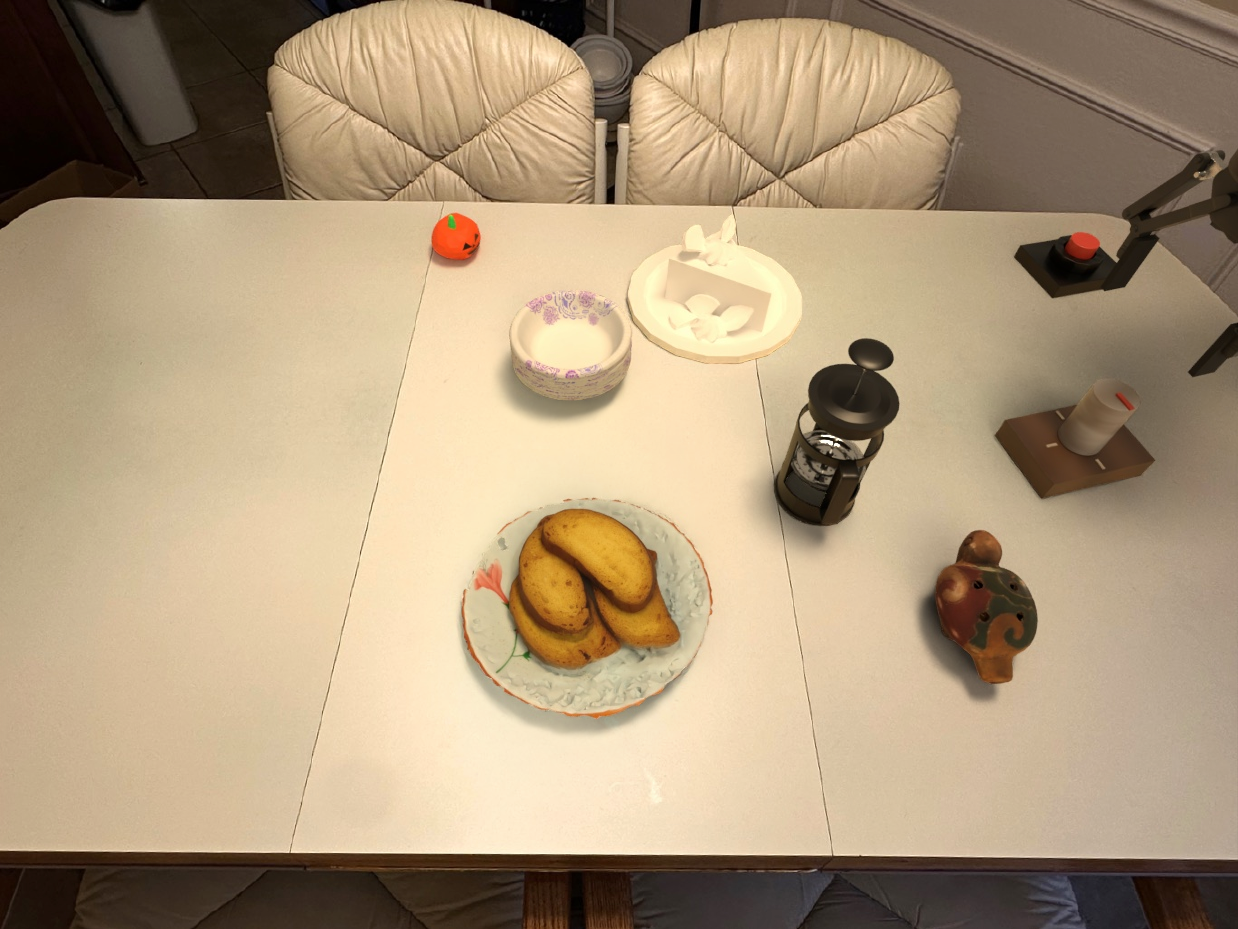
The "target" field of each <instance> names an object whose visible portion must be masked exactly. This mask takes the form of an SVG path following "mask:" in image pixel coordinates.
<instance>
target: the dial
mask: <svg viewBox="0 0 1238 929" xmlns="http://www.w3.org/2000/svg"><path fill="white" fill-rule="evenodd" d="M1076 405H1077V404H1076ZM1140 405H1141V397H1140V394H1139V393H1138V392H1137V390H1136V389H1135V388H1133V387H1132V386H1131V385H1130V384H1128V383H1126V382H1124V381H1122V380H1120V379H1116V378H1110V377H1104V378H1100V379H1098V380H1095V382H1094V383H1093V384H1092V385H1091V387H1090V389H1088V391H1087V392H1086V393H1085V394H1084V396H1083V397H1082V398H1081V400H1079V402H1078V405H1077V406H1076V408H1075V409H1074V410H1073V411H1072V413H1071V414H1070V415H1069V416H1068V418H1067V419H1066V420H1065V422H1064V423H1063V424H1062V425H1061V427H1060V428H1059V430H1058V437H1059V440H1060V441H1061V443H1062V444H1063V445H1064V446H1065V447H1066V448H1067V449H1069V450H1070V451H1072V452H1074V453H1077V454H1080V455H1086V456H1090V455H1094V454H1097V453H1098V452H1099V451H1100V450H1101V449H1102V448H1103V447H1104V446H1105V445H1106V443H1107V442H1108V441H1109V440H1110V439H1111V438H1112V437H1113V436H1114V434H1115V433H1116V432H1117V431H1118V430H1119V429H1120V428H1121V426H1122V425H1123V424H1124V425H1125V423H1126V422H1127V421H1128V420H1129V419H1130V418H1131V416H1133V414H1134V413H1135V412H1136V410H1138V408H1139V407H1140Z"/></svg>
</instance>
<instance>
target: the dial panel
mask: <svg viewBox="0 0 1238 929" xmlns="http://www.w3.org/2000/svg"><path fill="white" fill-rule="evenodd" d="M1078 404H1079V403H1078ZM1078 404H1073V405H1068V406H1064V407H1058V408H1054V409H1050V410H1049V409H1048V410H1045V411H1039V412H1036V413H1030V414H1026V415H1021V416H1017V417H1011V418H1007V419H1004V421H1003V422H1002V424H1001V425H1000V427H999V428H998V430H997V431H996V433H995V434H994V436H995V437H996V439H997V440H998V441H999V443H1000V444H1001V445H1002V447H1003V449H1004V450H1005V451H1006V453H1007V454H1008V455H1009V457H1010V458H1011V459H1012V460H1013V462H1014V464H1016V466H1017V467H1018V469H1019V470H1020V471H1021V473H1022V474H1023V475H1024V477H1025V478H1026V479H1027V481H1028V482H1029V484H1030V485H1031V486H1032V488H1033V489H1034V490H1035V492H1036V493H1037V495H1039V497H1040V499H1047V498H1050V497H1055V496H1058V495H1059V496H1060V495H1062V494H1068V493H1071V492H1076V491H1081V490H1084V489H1089V488H1092V487H1097V486H1100V485H1105V484H1109V483H1114V482H1117V481H1122V480H1126V479H1131V478H1136V477H1140V476H1142V475H1143V474H1144V473H1145V472H1146V471H1147V470H1148V469H1149V468H1150V467H1151V466H1152V465H1153V464H1154V463H1155V462H1156V459H1155V457H1153V455H1152V454H1151V453H1150V452H1149V451H1148V450H1147V449H1146V448H1145V447H1144V445H1143V444H1142V443H1141V442H1140V440H1139V439H1138V438H1137V437H1136V435H1134V434H1133V433H1132V431H1131V430H1130V428H1128V427H1127V426H1126V425H1125V423H1124V424H1123V425H1122V426H1121V428H1120V429H1119V430H1118V431H1117V432H1116V433H1115V434H1114V436H1113V437H1112V438H1111V439H1110V440H1109V441H1108V442H1107V443H1106V445H1105V446H1104V447H1103V448H1102V449H1101V450H1100V451H1099V452H1098V453H1097V454H1094V455H1090V456H1086V455H1080V454H1077V453H1074V452H1072V451H1070V450H1069V449H1067V448H1066V447H1065V446H1064V445H1063V444H1062V443H1061V441H1060V440H1059V437H1058V430H1059V428H1060V427H1061V425H1062V424H1063V423H1064V422H1065V420H1066V419H1067V418H1068V416H1069V415H1070V414H1071V413H1072V411H1073V410H1074V409H1075V408H1076V406H1077V405H1078Z"/></svg>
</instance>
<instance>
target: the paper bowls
mask: <svg viewBox="0 0 1238 929" xmlns="http://www.w3.org/2000/svg"><path fill="white" fill-rule="evenodd" d="M632 329H633V328H632V325H631V322H630V320H629V318H628V315H627V314H626V313H625V311H624V310H623V309H622V308H621V307H620V306H619V305H618V304H617V303H616V302H614V301H613V300H611V299H609V298H608V297H605V296H603V295H601V294H599V293H595V292H592V291H587V290H580V289H579V290H576V289H570V290H569V289H565V290H557V291H552V292H548V293H545V294H542V295H539V296H537V297H536V298H534V299H531V300H530V301H529V302H527V303H526V304H525V305H523V306H522V307H521V308H520V309H519V310H518V312H517V313H516V314H515V316H514V317H513V319H512V321H511V323H510V327H509V331H508V332H509V333H508V337H509V346H510V353H511V362H512V366H513V369H514V373H515V375H516V376H517V378H518V379H519V381H520V382H521V383H522V384H523V385H524V386H526V387H527V388H528V389H530V390H531V391H532V392H534V393H536V394H538V395H541V396H543V397H546V398H550V399H552V400H558V401H559V400H560V401H580V400H585V399H591V398H595V397H599V396H600V395H603V394H605V393H608V392H609V391H611V390H612V389H614V388H615V387H617V386H618V385H619V383H621V381H622V380H623V379H624V378H625V376H626V375H627V372H628V371H629V369H630V366H631V361H632V347H633V342H632V341H633V339H632V338H633V330H632Z"/></svg>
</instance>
